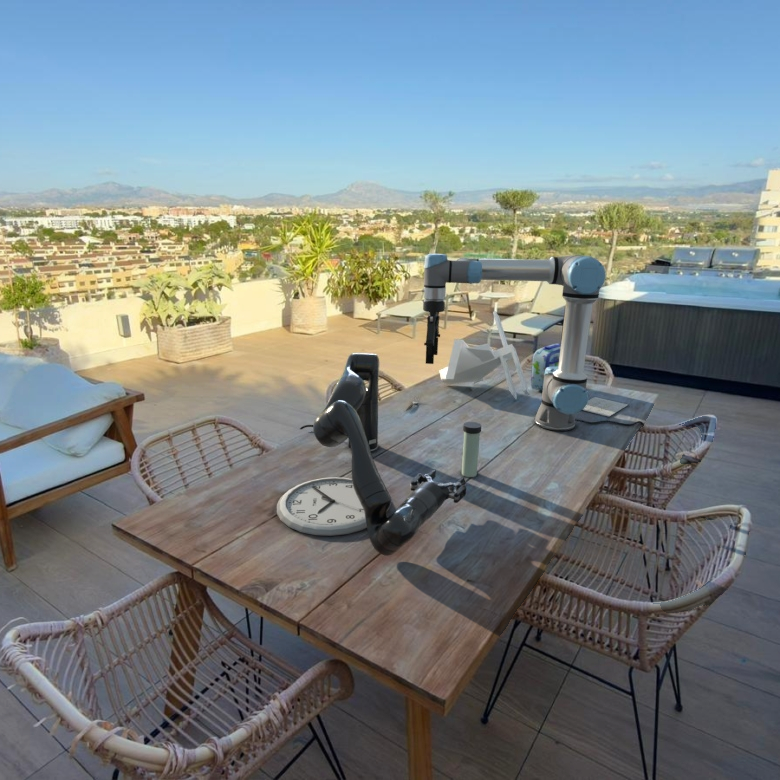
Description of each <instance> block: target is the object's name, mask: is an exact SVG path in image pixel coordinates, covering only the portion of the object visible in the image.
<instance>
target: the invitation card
mask: <svg viewBox="0 0 780 780" xmlns="http://www.w3.org/2000/svg"><path fill="white" fill-rule="evenodd" d="M628 406H629V404H627V403H623V402H618V401H614V400H609V399H605V398H601V397H596V396H593V397H592V398H590V399H588V402H587V405H586V406H585V408H584V409H583V410H582V411H584V412H587V413H593V414H596V415H600V416H604V417H608V418H609V417H611V416H613V415H614V414H616V413H617V412H619V411H621V410H623V409H624V408H626V407H628Z"/></svg>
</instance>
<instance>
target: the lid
mask: <svg viewBox="0 0 780 780" xmlns="http://www.w3.org/2000/svg"><path fill="white" fill-rule="evenodd" d="M462 430H463V433H464V432H466V433H470V434H477V433H480V434H481V432H482V424H481V423H480V422H478V421H477V422H476V421H466V422H464V423H463V427H462Z"/></svg>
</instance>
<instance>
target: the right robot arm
mask: <svg viewBox="0 0 780 780" xmlns="http://www.w3.org/2000/svg"><path fill="white" fill-rule="evenodd" d="M423 269H424V271H423V272H424V273H423V289H422V290H421V292H422V293H423V299H424V300H422V301H423V303H422V310H423V312H427V313H429V314H428V315H427V318H426V322H427V324H426V337H425V342H424V343H423V346H425V364H427V365H434V362H435V361H434V360H435V356H438V353H439V352H438V351H439V350H438V349H439V338H440V337H441V334H440V328H439V327H440V326H439V325H440V313H442V312H444V311H445V309H446V308H445V307H446V301H445V299H446V292H447V291H446V290H447V287H446V285H447V284H450V283H451V284H452V283H453V284H470V285H472V284H480V283H481V281H511V282H513V281H514V282H546V283H547V284H548V285H557V286H562V293H561V294H562V295H561V298H563V299H564V300H565V309H564V315H563V316H564V318H563V325H562V333H561V341H560V344H561V349H560V357H559V366H558V367H557V366H554V367H547V368H546V369H545V373H544V382H543V390H542V394H541V402H540V405H539V407H538V410H537V411H536V413H535V415H534V424H535V425H536V426H537V427H539V428H542V429H544V430H549V431H556V432H567V431H572V430H574V429H575V428H576V422H579V423H585V424H588V425H597V424H601V423H610V424H615V425H619V426H624V427H625V426H626V427H632V426H636V425H638V424H640V425H643V426H644V425H645V424H644V422H642V421H641V420H637V421H635V422H633V423H623V422H619V421H615V420H598V421H587V420H584V419H583V420H582V419H577V418H575V417H576V416H575V414H578V413H580V412H581V411H584V410H583V409H584V408H585V406H586V405H587V402H588V400H589V394H588V390H587V382H588V375H587V374H586V372H585V371H584V370H585V365H586V364H585V363H586V355H587V348H588V342H589V334H590V327H591V321H592V319H591V318H592V312H593V305H594V303H595V302H596V301H598V300H599V297H600V290H601V289H602V287H603V286H604V284H605V281H606V275H607V273H606V269H605V266H604V265H603V263H602V262H601V261H599V260H598V259H597V258H596V257H592V256H588V255H581V254H575V255H567V256H566V255H565V256H551V257H550V258H549V259H528V258H527V259H526V258H525V259H524V258H523V259H519V258H518V259H517V258H467V257H460V258H458V259H456V260H450V259H448V255H447V254H445V253H428V254H426V255H425V257H424V267H423Z"/></svg>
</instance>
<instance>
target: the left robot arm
mask: <svg viewBox="0 0 780 780" xmlns="http://www.w3.org/2000/svg"><path fill="white" fill-rule="evenodd" d="M379 377H380V358H379V356H378V354H377V353H364V352H363V353H361V352H353V353H351V354H349V355H348V357H347V358H346V362H345V364H344V367H343V370H342V373H341V374H340V377H339V379H338V380H337V381H336V383H335V385H334V387H333V389H332V392H331V394H330V396H329V398H328V400H327V402H326V405H325V407H324V408H323V410H322V411H321V413H320V414H319V415H318V416H317V417H316V418H315V420H314V421H313V424H306V425H303V426H301V427H299V430H303V429H305V428H312V430H313V434H314V437H315V439H316V441H318V443H319V444H321V445H322V446H324V447H326V448H336V447H338V446H340V445H341V444H343V443H344V442H345V441H346V440H348V449H351V450H350V451H351V479H352V483H353V487H354V490H355V493H356V495H357V497H358V499H359V501H360V503H361V505H362V507H363V509H364V513H365V520H366V525H367V528H366V529H367V535H368V538H369V541H370V544H371V546H372V547H373V549H374V550H375V551H376V552H377V553H379V554H380V555H381V556H386V557H388V556H392V555H394V554H395V553H396V552H397V551H399V550H400V549H401V548H403V547H404V546H405V545H406V544H407V543H408V542H410V541H411V539H412V538H414V537H415V535H416V534H417V532H418V530H419V529H420V528H421V527H422V526H423V524H424V523H425V522H427V520H429V519H430V518H431V517H432V516H433V515H434V514H435V513H436V512H437V511H438V510H439V509H440V508H441V506H442V505H443V504H444V502H445V500H448V499H451V500H453V503H454V504H458V503H459V502H460V501H461V500H463V498H465V496H467V488H468V487H467V485H466V479H465V477H464V476H461V477H460V478H459V479H458V480H457V481H456V482H444V483H443V482H439V481H436V480H435V478H436V476H437V470H436V469H432V470H429V472H428V473H425V474H422V473H421V472H420V473H417V474H416V475H415V477H413V479H412V480H411V481H410V491H412V492H411V493H410V494H409V495H408V496H407V497H406V499H405V500H404V501H403V502H402V503H401V504H400V505H399V506H398V507H397V508H396V510H394V511H393V512H392V513H391V514H390V515H388V512H389V509H390V508H391V505H392V502H393V501H392V497H391V495H390V493H389V491H388V489H387V487H386V485H385V483H384V481H383V479H382V477H381V475H380V473H379V470H378V468H377V465H376V463H375V460H374V457H373V454H372V453H373V452H375V451H376V450H378V449H379V444H378V443H379V381H380V380H379ZM366 382H367V383H368V384H366Z"/></svg>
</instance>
